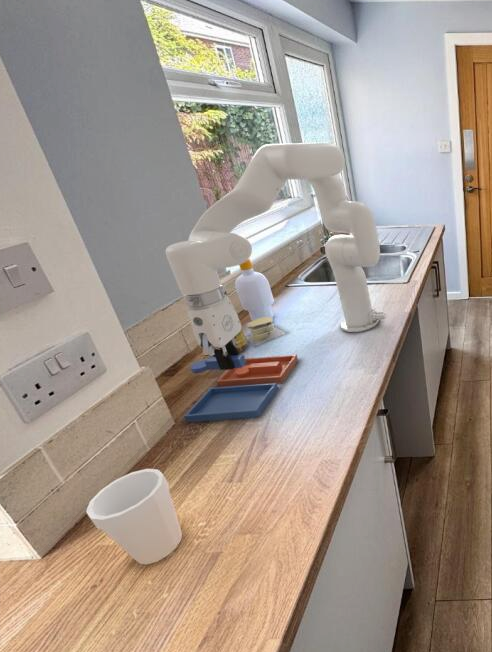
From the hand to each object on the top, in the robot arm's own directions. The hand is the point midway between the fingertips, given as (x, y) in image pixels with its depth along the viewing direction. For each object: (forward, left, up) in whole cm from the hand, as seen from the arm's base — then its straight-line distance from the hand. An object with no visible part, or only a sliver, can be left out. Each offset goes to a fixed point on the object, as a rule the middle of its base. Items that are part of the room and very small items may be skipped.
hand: (231, 365), depth 98 cm
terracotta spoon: (+3, -14, -11) cm, 18 cm away
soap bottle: (+19, -51, -12) cm, 56 cm away
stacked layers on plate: (+12, -37, -12) cm, 41 cm away
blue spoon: (+3, 0, 0) cm, 3 cm away
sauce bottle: (+17, -29, -12) cm, 36 cm away
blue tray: (+3, 0, -12) cm, 12 cm away
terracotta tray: (+3, -14, -12) cm, 19 cm away
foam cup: (-4, +38, -12) cm, 40 cm away
